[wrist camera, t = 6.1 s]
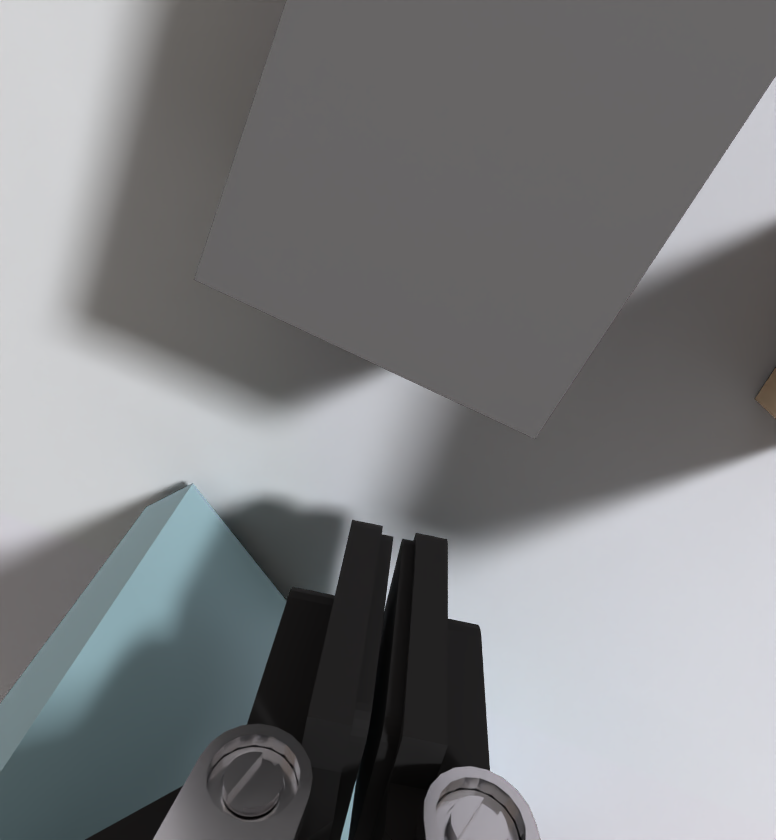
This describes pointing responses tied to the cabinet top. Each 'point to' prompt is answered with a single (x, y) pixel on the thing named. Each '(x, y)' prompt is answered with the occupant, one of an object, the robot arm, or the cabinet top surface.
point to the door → (137, 676)
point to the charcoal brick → (478, 177)
